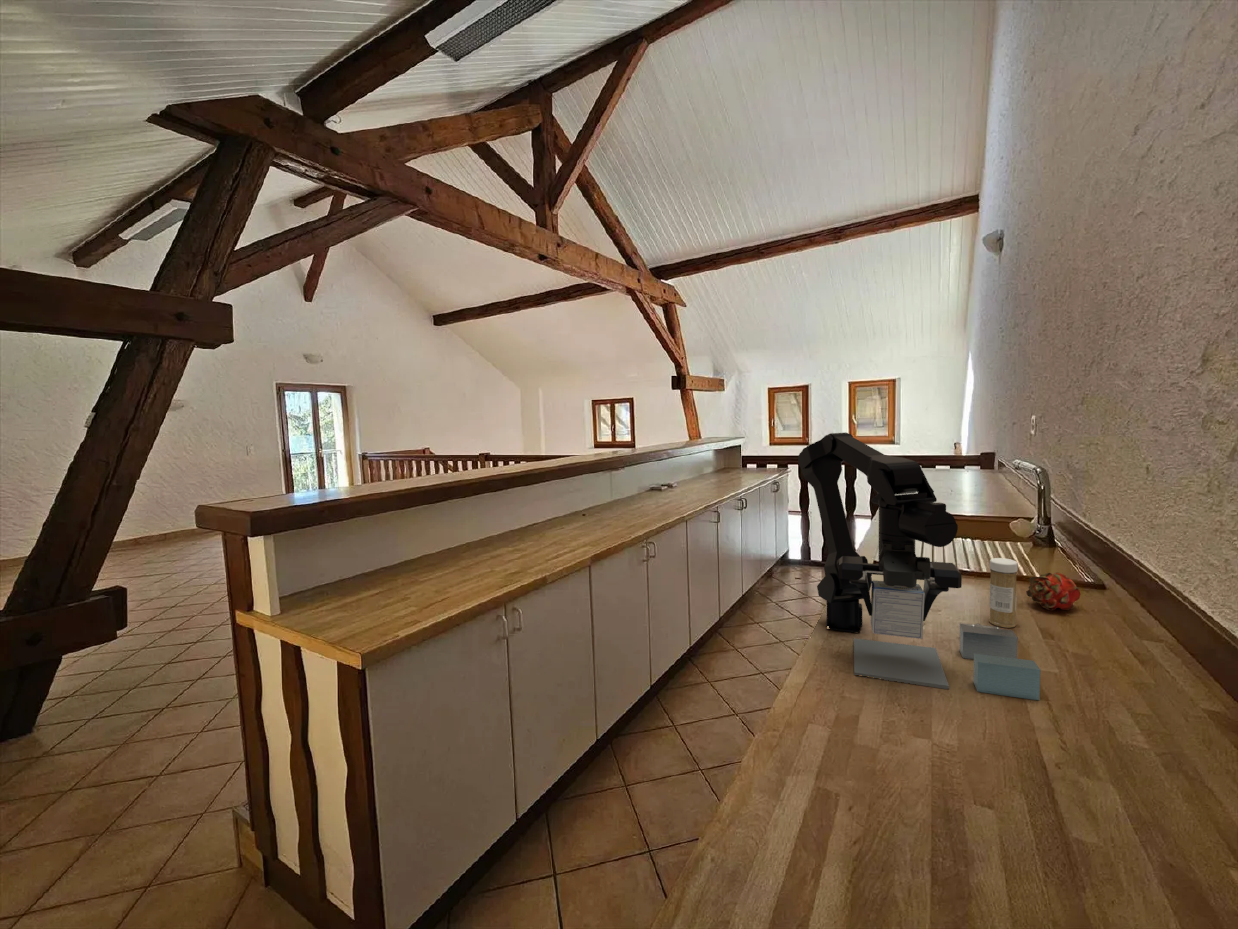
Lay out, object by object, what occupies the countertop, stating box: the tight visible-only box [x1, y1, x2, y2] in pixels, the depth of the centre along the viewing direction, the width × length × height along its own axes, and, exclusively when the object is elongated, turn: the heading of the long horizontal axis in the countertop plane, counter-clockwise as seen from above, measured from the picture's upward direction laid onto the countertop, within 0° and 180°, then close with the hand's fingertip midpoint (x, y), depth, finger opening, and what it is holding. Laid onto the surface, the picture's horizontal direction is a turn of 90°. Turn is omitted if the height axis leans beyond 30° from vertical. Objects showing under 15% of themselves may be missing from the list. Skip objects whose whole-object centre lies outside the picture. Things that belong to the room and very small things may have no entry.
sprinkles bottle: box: [988, 557, 1019, 629], centre depth 106 cm, size 5×5×13 cm
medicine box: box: [870, 579, 925, 640], centre depth 92 cm, size 8×4×9 cm, turn 70°
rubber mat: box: [853, 637, 950, 690], centre depth 93 cm, size 14×14×1 cm
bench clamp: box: [958, 622, 1041, 701], centre depth 91 cm, size 8×21×5 cm, turn 156°
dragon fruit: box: [1026, 572, 1081, 612], centre depth 113 cm, size 8×8×12 cm
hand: (896, 617), depth 93 cm, fingers closed on medicine box, 8 cm apart
